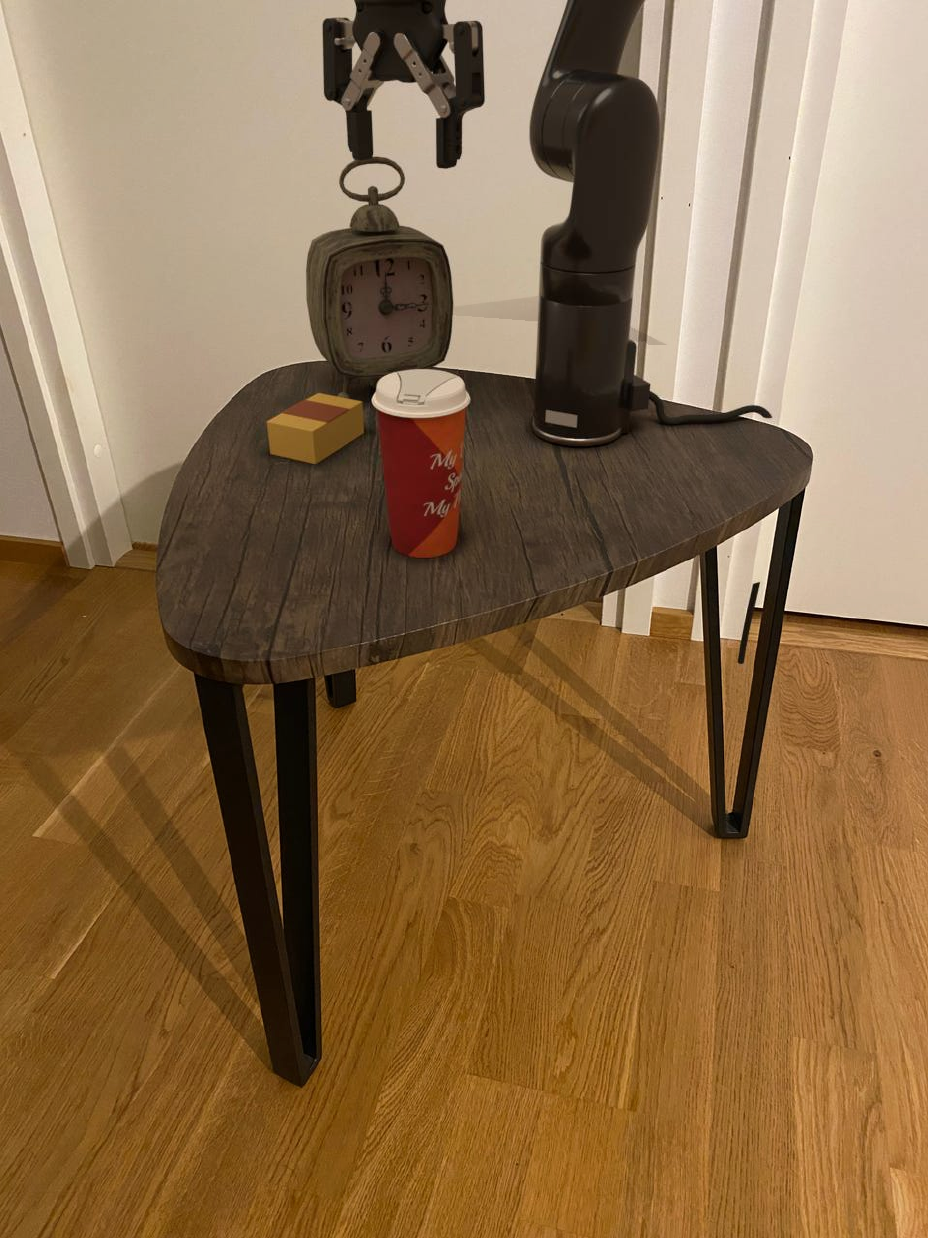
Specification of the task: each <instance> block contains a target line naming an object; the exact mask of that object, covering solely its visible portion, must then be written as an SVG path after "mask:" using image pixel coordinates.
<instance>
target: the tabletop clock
mask: <svg viewBox="0 0 928 1238" xmlns="http://www.w3.org/2000/svg"><path fill="white" fill-rule="evenodd" d="M377 164H378V165H386V166H389V167H391V168H393V169H394V170H395V171H396V172H397V173H398V175H399V179H400V181H399V184H398V185H397V186H396V187H395V188H393V189H390V190H388V191H386V192H383V193H379V189H378V187H377V186H374V185H371V186H369V187H368V189H367V194H360V193H356V192H352V191H350V190H348V189H347V188H346V186H345V184H344V183H345V179H346V177H347V175H348V174H349V173H350V172H351V171H352V170H354V169H356V168H357V167H361V166H366V165H377ZM405 176H406V175H405V173H404V171H403V169H402V167H401V166H400V164H398V163H397V162H396V161H395V160H392V159H390V158H388V157H386V156H385V157H384V156H373V157H372V158H371V159H367V160H362V161H361V160H354V159H353V160H352V161H351V162H349V163H347V165H346V166H344V168H343V169H342V170H341V173H340V176H339V180H338V183H339V188H340V189H341V192H342V193H343V194H344V195H345V196H347V197H348V198H349V199H352V200H353V201H357V202H361V203H368V204H364V205H361V206H360V207H358V208H357V209H355V211H354V213H353V215H352V216H351V219H350V222H349V227H347V228H341V229H335V230H330V231H328V232H325V233H322V234H321V235H319V236H316V237H315V238H313V239H312V240H311V242H310V245H309V249H308V252H307V256H306V268H305V280H306V281H305V288H306V289H305V292H306V295H305V296H306V297H305V298H306V305H307V311H308V318H309V324H310V331H311V334H312V337H313V341H314V343H315V345H316V347H317V349H318V351H319V353H320V355H321V356H322V357H323V358H324V359H325V360H326V362H327V363H328V364H329V365H330V367H331V368H332V369H333V370H334V371H335V373H336V374H337V375H339V376H342V377H343V385H342V390H341V391H340V392H339V393H337V394H336V396H337V397H342V398H347V399H351V397H350V395H349V393H348V391H349V388H350V385H351V382H352V379H368V383H369V386H370V387H371V388H373V389H376V387H377V383H378V381H379V380H380V379H381V378H382V377H384V376H386V375H388V374H391V373H394V372H396V373H397V372H399V371H405V370H414V369H432V368H434V367H436V366H438V365H440V364H442V363H443V362H445V359H446V357H447V355H448V352H449V349H450V345H451V340H452V331H453V318H454V317H453V316H454V293H453V278H452V270H451V264H450V260H449V256H448V254H447V252H446V249H445V247H444V245H443V244H442V243H440V242H438V241H437V240H435V239H434V238H432V237H431V236H429V235H427V234H425V233H424V232H422V231H420V230H418V229H415V228H414V227H410V226H405V225H400V223H399V219H398V217H397V216H396V214H395V212H394V211H393V210H392V209H391V208H390V207H389V206H387V205H385V204H380V203H379V202H382V201H387V200H389V199H391V198H393V197H395V196H397V195H398V194H399V193H400V192H401V191H402V189H403V187H404V185H405V182H406V177H405Z"/></svg>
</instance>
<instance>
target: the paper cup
mask: <svg viewBox="0 0 928 1238" xmlns="http://www.w3.org/2000/svg"><path fill="white" fill-rule="evenodd" d="M470 403H471V396H470V394H469V392H468V391H467V389H466V384H465V382H464V380H463V379H462V378H461V377H460V376H458V375H456V374H454V373H451V372H448V371H444V370H438V369H431V368H429V369H414V370H405V371H399V372H397V373H396V372H394V373H391V374H388V375H386V376H384V377H382V378H381V379H380V380H379V381H378V383H377V387H376V388H375V392H374V394H373V395H372V397H371V404H372V405H373V407H374V408H375V409H376V417H377V426H378V435H379V444H380V453H381V462H382V463H381V464H382V471H383V482H384V490H385V499H386V508H387V516H388V525H389V526H388V527H389V533H390V538H391V544H392V547H393V548H394V551H396V552H398V553H399V554H401V555H404V556H406V557H411V558H416V559H429V558H430V559H431V558H436V557H441V556H444V555H446V554H448V553H450V552H451V551H453V550H454V549H455V548H456V546H457V543H458V537H459V536H458V535H459V526H460V525H459V523H460V513H461V509H460V508H461V497H462V495H461V494H462V479H463V463H464V462H463V461H464V448H465V447H464V443H465V429H466V428H465V427H466V411H467V410H466V409H467V407H468V405H469V404H470Z"/></svg>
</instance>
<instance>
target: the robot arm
mask: <svg viewBox="0 0 928 1238" xmlns="http://www.w3.org/2000/svg"><path fill="white" fill-rule="evenodd" d="M353 1H354V4H355V16H354V19H353V20H351V19H350V18H348V17H340V16H338V17H327V18H324V20H323V21H322V24H321V26H322V27H321V28H322V29H321V30H322V64H323V65H322V68H323V69H322V70H323V72H322V73H323V76H322V77H323V96H324V98H325V99H326V100H327V101H329V102H335V103H337V104H339V105H340V106H342V108H343V109H344V112H345V118H346V119H345V120H346V134H347V135H346V137H347V138H346V139H347V147H348V150H349V152H350V153H351V157H352V159H353V161H354V160H361V161H362V160H367V159H371V158H372V157H374V133H373V131H374V130H373V129H374V128H373V111H372V110H371V109H370V110H369V109H368V107H370V104H371V102H372V100H373V98H374V97H375V95H376V93H377V91H378V90H379V88H381V87H382V86H383V85H384V83H385V82H394V81H398V82H401V83H402V84H403V83H405V84H414V83H417V85H418V87H419V89H420V90H421V92H423V94H425V95H427V96H428V98H429V100H430V102H431V103H432V106H433V107H434V109H435V110H436V112H437V114H438V116H439V117H436V118H435V163H436V164H435V165H436V167H437V168H438V169H442V170H443V169H445V170H448V169H451V168H455V167H456V166H457V163H458V161H459V160H461V157H462V154H463V119H464V116H465V114H466V113H468V112H470V111H472V110H475V109H477V108H478V109H479V108H481V107H483V106H484V104H485V102H486V94H485V93H486V92H485V91H486V90H485V62H484V58H485V57H484V29H483V25H482V23H481V22H480V21H479V20H463V21H462V20H461V21H459V20H458V21H457V22H456V23H449V21H448V19H447V16H446V15H447V14H446V4H447V0H353ZM646 2H647V0H567V1H566V3H565V7H564V9H563V13H562V16H561V19H560V22H559V25H558V27H557V31H556V34H555V37H554V40H553V43H552V46H551V48H550V52H549V54H548V57H547V60H546V63H545V66H544V69H543V72H542V74H541V77H540V81H539V83H538V85H537V90H536V93H535V97H534V99H533V104H532V108H531V113H530V117H529V125H528V127H529V130H528V131H529V133H528V141H529V147H530V151H531V154H532V157H533V160H534V162H535V164H536V165H537V167H538V169H540V170H541V171H542V172H543V173H544V174H546V175H547V176H549V177H551V178H554V179H556V180H560V181H564V182H567V183H572V190H571V200H570V207H569V211H568V215H567V217H566V218H565V219H564V220H563V221H561V222H559V223H555V224H552V225H551V226H549V227H547V228H545V230H544V232H543V233H542V235H541V238H540V239H541V240H540V257H539V260H540V261H539V277H538V278H539V281H538V302H537V303H538V306H537V325H536V326H537V327H536V329H537V330H536V354H535V374H534V375H535V378H534V402H533V417H532V426H531V427H532V428H531V429H532V431H533V433H534V434H535V435H536V436H537V437H538V438H540V439H542V440H545V441H546V442H549V443H553V444H557V445H563V446H568V447H593V446H600V445H604V444H608V443H610V442H613V441H615V440H617V439H618V438H619V437H620V436H621V435H623V434H628V433H629V430H630V422H631V421H630V420H631V412H636V411H641V410H647V409H649V402H650V401H651V402H652V403H653V404H654V406H655V411H656V416H657V419H658V420H659V422H661V423H663V424H665V425H669V426H677V425H681V424H686V423H714V422H718V423H719V422H723V421H728V420H732V419H734V418H735V419H736V418H739V417H740V416H743V415H746V414H751V413H756V414H758V415H759V416H761V417H762V418H764V419H772V418H773V416H772V414H771V413H770V411H769V410H768V409H766V408H765V407H763V406H761V405H756V404H748V405H745V406H740V407H738V408H734V409H732V410H729V411H726V412H721V413H713V414H710V413H709V414H685V415H680V416H675V417H674V416H673V417H669V416H667V415H666V413H665V408H664V403H663V400H662V399H661V398H660V397H659V395H657V394H656V393H655V392H653V391H651V383H649V382H648V381H647V380H644V379H643V378H641V377H639V376H637V375H636V374H635V369H636V359H637V348H638V346H637V343H636V342H635V341H634V340H632V339H630V334H631V324H632V314H633V313H632V311H633V301H634V289H635V278H636V269H637V258H638V251H639V247H640V245H641V243H642V241H643V239H644V236H645V234H646V231H647V228H648V225H649V220H650V215H651V207H652V201H653V194H654V188H655V182H656V175H657V174H656V173H657V168H658V161H659V152H660V145H661V144H660V143H661V117H660V116H661V115H660V109H659V105H658V101H657V98H656V96H655V94H654V92H653V90H652V89H651V87H650V86H649V85H648V84H647V83H646V82H645V81H643V80H642V79H640V78H637V77H635V76H633V75H627V74H621V73H619V70H620V66H621V63H622V59H623V56H624V52H625V48H626V45H627V42H628V39H629V37H630V34H631V31H632V28H633V26H634V24H635V22H636V19H637V17H638V15H639V13H640V11H641V9H642V7H643V6H644V4H645V3H646ZM355 45H357V47H358V48H359V50H360V54H359V55H358V58H357V61H356V62H355V64H354V67H353V48H354V46H355ZM447 45H448V47H449V49H450V51H451V53H452V54H453V58H454V75H453V73H452V71H451V69H450V67H449V65H448V64H447V62H446V60H445V58H444V56H443V55H442V54H443V52H444V50H445V48H446V47H447ZM760 585H761V581H758V582H754V583H752V586H751V591H750V595H749V599H748V604H747V609H746V614H745V618H744V623H743V627H742V633H741V638H740V642H739V643H740V645H739V650H738V657H737V661H736V662H737V664H739V665H743V664H744V663H745V660H746V659H745V658H746V654H747V653H746V652H747V647H748V641H749V636H750V631H751V626H752V622H753V617H754V612H755V607H756V603H757V599H758V593H759V589H760V587H761V586H760Z"/></svg>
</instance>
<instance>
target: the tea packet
mask: <svg viewBox="0 0 928 1238" xmlns="http://www.w3.org/2000/svg"><path fill="white" fill-rule="evenodd" d="M363 407H364V406H363V401H362V400H358V399H352V398H350V399H347V398H342V397H337V395H331V394H326V393H322V392H321V393H320V392H317V393H316V394H314V395H312V396H310V397H308V398H306V399H303V400H301V401H299V402H297V403H295V404H294V405H292V406H290V407H287V408H286V409H284V410H282V411H281V412H280V413H279V414H278V415H276V416H274V417H272V418H271V419H269V420H266V428H267V436H268V444H269V454H270V455H273V456H277V457H280V458H285V459H290V460H295V461H298V462H304V463H307V464H312V465H317V464H318V463H320V462H322V461H323V460H325V459H326V458H328V457H329V456H332V455H333V454H334V453H336V452H338V451H339V450H340V449H342V448H343V447H345V446H347V445H348V444H349V443H351V442H352V441H354V440H355V439H358V438H359V437H360V436H362V435H363V434H365V427H364V409H363Z"/></svg>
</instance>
